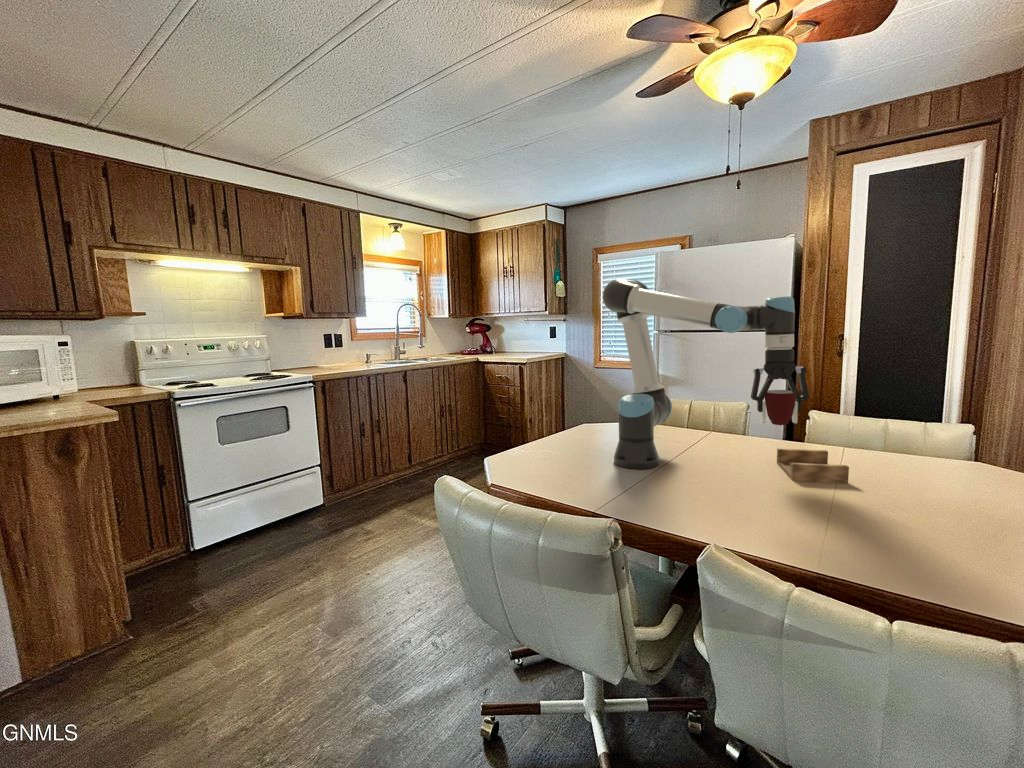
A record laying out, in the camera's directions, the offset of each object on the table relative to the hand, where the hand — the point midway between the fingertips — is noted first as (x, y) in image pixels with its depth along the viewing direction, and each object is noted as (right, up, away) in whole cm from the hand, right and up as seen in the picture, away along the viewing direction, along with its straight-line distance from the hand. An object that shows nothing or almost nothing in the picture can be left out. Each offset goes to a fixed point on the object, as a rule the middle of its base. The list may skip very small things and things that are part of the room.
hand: (778, 422), depth 135 cm
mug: (0, 0, 0) cm, 1 cm away
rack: (+10, -16, +1) cm, 19 cm away
